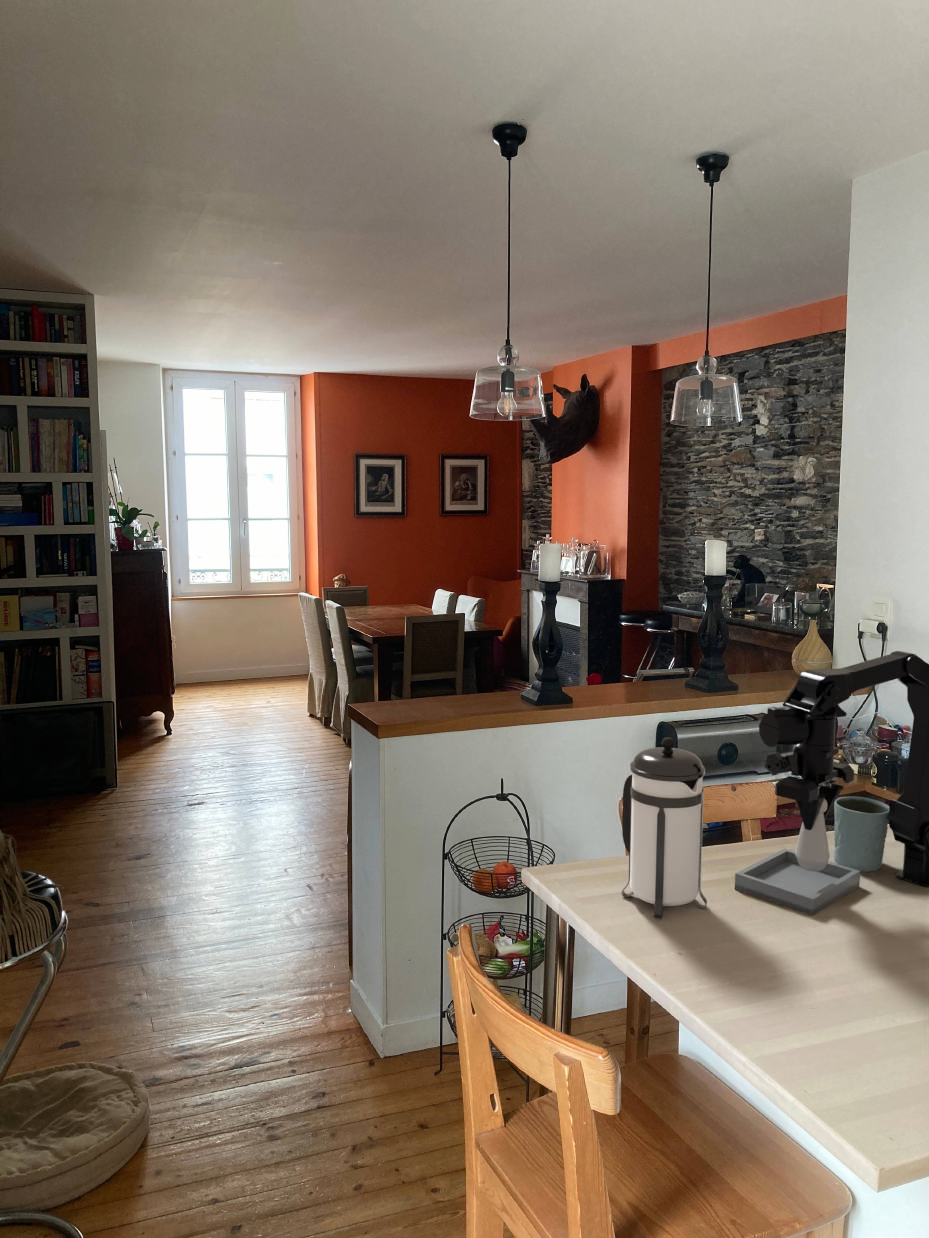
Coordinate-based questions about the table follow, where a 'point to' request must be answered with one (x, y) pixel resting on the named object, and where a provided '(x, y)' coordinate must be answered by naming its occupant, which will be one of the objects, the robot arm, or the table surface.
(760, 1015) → the table surface
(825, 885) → the tray
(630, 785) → the coffee press
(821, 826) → the salt shaker
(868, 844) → the teal cup
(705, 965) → the table surface
